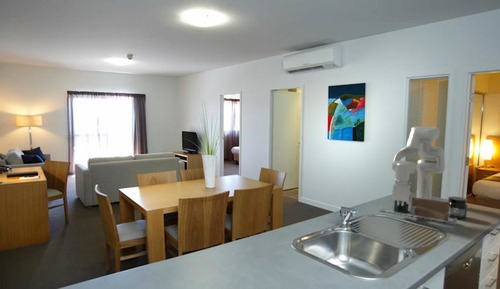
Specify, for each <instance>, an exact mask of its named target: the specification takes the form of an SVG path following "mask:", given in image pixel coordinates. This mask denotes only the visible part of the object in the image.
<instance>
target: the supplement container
mask: <svg viewBox="0 0 500 289" xmlns="http://www.w3.org/2000/svg"><path fill="white" fill-rule="evenodd" d="M447 200H448V201H447V202H449V215H448V218H450V219H453V218H457V220H464V219H467V216H468V215H467V213H468V211H467V210H468V204H467V201H468V200H467V198H466V197H461V196H448V198H447Z"/></svg>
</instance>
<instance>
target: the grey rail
mask: <svg viewBox="0 0 500 289" xmlns="http://www.w3.org/2000/svg"><path fill="white" fill-rule="evenodd" d="M378 211H379V212H383V211H385V212H384V213H389V212H391V213H390V214H394V213H396V214H395V215H400V214H401V215H400V216H405V215H407V216H406V217H411V216H413V217H412V218H416V217H419V218H418V219H422V218H424V219H423V220H427V219H430V220H429V221H432V220H435V221H434V222H438V221H441V222H440V223H443V222H446V223H445V224H449V223H451V224H450V225H454V224H456V225H457V221H458V219H457V218H452V220H448V221H445V220H440V219H434V218H429V217H423V216H418V215H410V213H407V212H405V213H403V212H397V211H394V210H390V209H385V208H384V205H382V204H381V205H380V204H379V206H378Z"/></svg>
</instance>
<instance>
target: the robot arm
mask: <svg viewBox="0 0 500 289" xmlns="http://www.w3.org/2000/svg"><path fill="white" fill-rule="evenodd" d="M440 132H441V130H440V128H438V127H437V126H417V125H416V126H413V127H411V129H410V132H409V134H408V137H407V141H406V143H405V147H403V148H401V149H400V150H399V151H397V153H395V155H394V157H393V159H392V162H391V169H392V170H393V172H395V174H394V176H395V177H394V178H395V180H394V183H393V187H392V193H391V201H392V202H393V203H396V204H397V205H398V212H402V211H403V206H404V205H405V204H409V205H410V204H412V201H411V200H412V196H411V195H412V194H411V193H412V192H411V191H412V190H411V184H412V181H410V175H411V174H412V175H413V174H416V172H417V183H416V197H417V198H423V199H430V200H433V199H432V193H433V192H432V190H433V176H432V175H431V174H430V173H432V174H443V173H444V171H445V168H446V166H445V165H446V164H445V163H446V162H445V150H444V148H443V147H441V146H439V145H437V146H435V145H432V143H433V142H435V141H437V140H438V139H439V137H440ZM417 153H418V157H419V158H420V159H418V160H417V162H414V161H407V160H402V159H403V158H406V157H409V156H412V155H415V154H417ZM400 201H402V204H401V205H400Z"/></svg>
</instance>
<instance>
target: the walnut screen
mask: <svg viewBox="0 0 500 289" xmlns="http://www.w3.org/2000/svg"><path fill="white" fill-rule="evenodd" d="M409 214H410V215H418V216H423V217H429V218H434V219H440V220H445V221H449V216H448V215H449V202H448V201H444V200H436V199H435V200H434V199H432V200H430V199H423V198H417V196H411V208H409Z"/></svg>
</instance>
